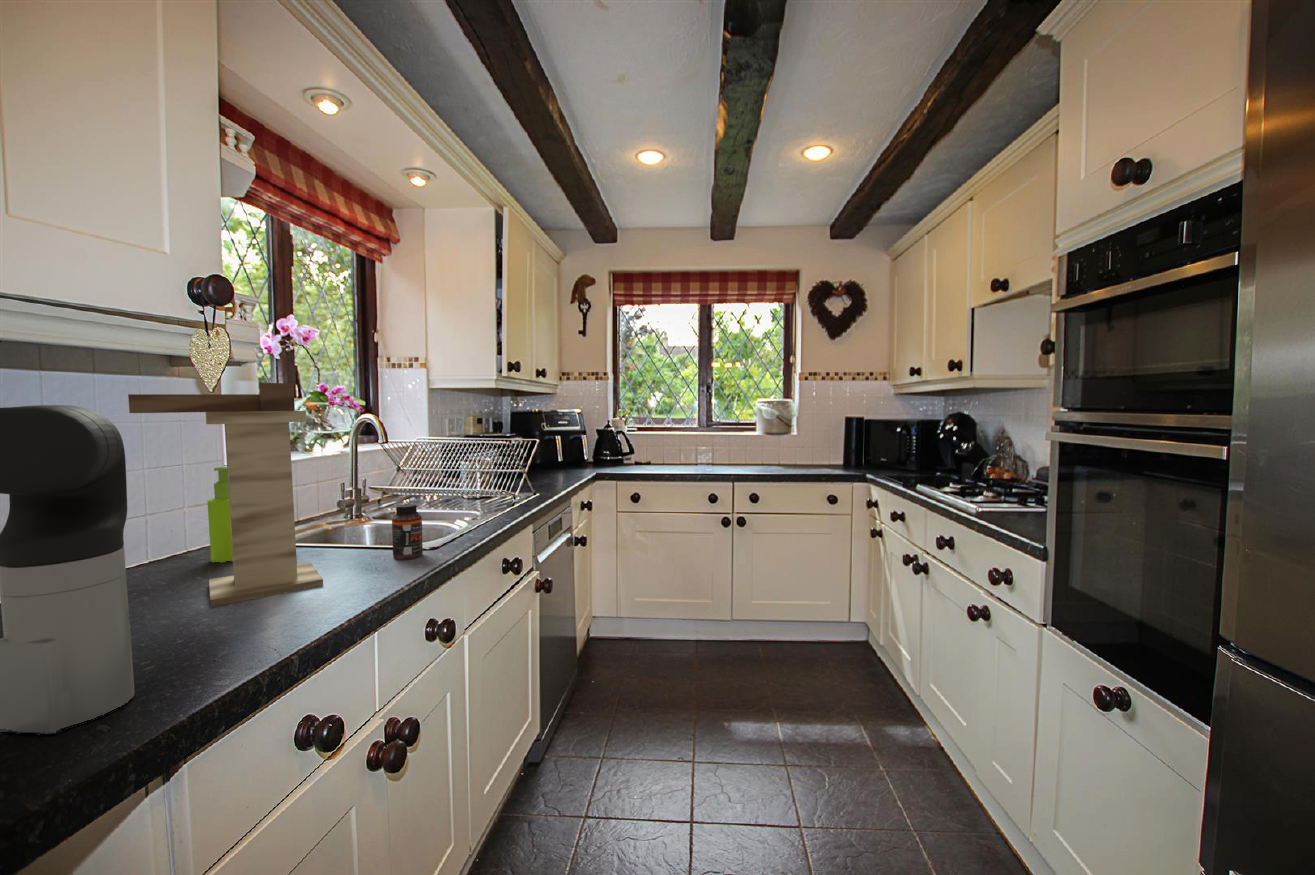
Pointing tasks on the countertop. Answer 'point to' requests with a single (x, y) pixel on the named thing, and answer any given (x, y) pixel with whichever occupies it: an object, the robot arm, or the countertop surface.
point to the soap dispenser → (220, 520)
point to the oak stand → (260, 508)
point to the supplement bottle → (407, 532)
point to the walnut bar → (217, 401)
